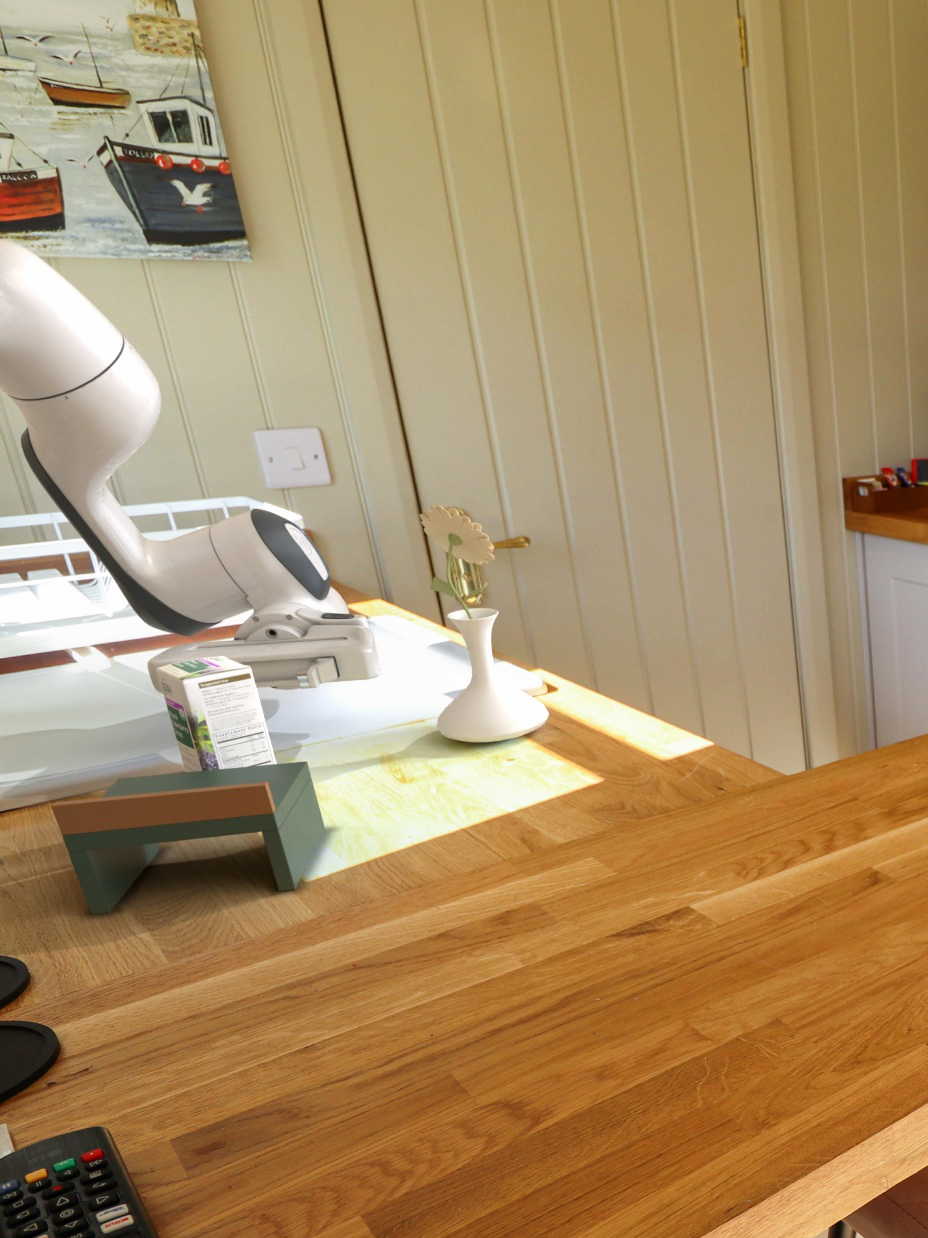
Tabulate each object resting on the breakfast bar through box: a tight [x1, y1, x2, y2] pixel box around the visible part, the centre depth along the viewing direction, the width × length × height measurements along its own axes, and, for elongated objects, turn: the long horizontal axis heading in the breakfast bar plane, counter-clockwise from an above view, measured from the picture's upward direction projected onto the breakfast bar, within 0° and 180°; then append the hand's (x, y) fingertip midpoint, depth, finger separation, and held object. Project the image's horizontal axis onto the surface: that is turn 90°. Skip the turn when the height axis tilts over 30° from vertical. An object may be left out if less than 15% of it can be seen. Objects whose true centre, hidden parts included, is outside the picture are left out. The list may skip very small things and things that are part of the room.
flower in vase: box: [419, 504, 549, 743], centre depth 126 cm, size 13×11×25 cm
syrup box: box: [156, 656, 278, 772], centre depth 107 cm, size 6×6×14 cm
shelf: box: [50, 760, 326, 916], centre depth 97 cm, size 14×12×10 cm
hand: (251, 685), depth 116 cm, fingers open, 8 cm apart
